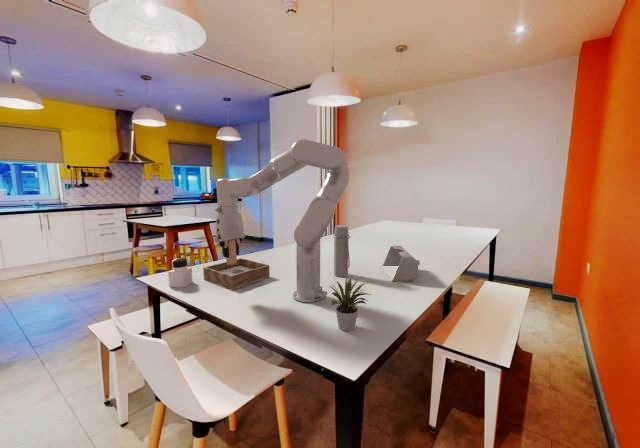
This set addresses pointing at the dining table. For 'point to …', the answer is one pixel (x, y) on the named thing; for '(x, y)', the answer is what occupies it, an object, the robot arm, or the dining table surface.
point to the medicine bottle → (180, 273)
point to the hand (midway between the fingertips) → (231, 255)
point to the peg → (231, 252)
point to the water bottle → (341, 251)
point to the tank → (402, 263)
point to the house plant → (347, 305)
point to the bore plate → (235, 270)
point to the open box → (236, 280)
